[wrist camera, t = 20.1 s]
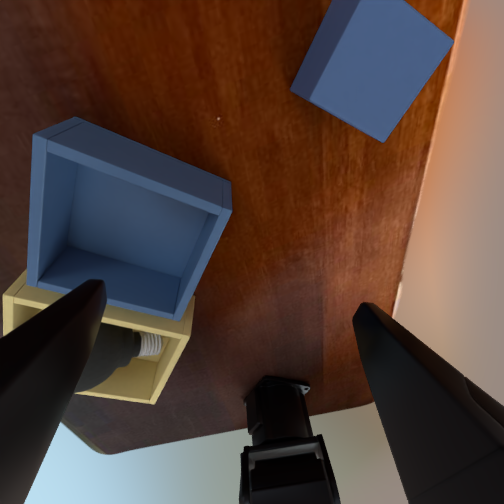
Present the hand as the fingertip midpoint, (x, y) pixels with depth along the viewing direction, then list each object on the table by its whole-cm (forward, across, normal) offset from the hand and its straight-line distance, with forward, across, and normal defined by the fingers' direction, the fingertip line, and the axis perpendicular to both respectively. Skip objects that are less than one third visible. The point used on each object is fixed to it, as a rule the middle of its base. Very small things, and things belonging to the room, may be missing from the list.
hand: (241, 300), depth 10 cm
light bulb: (+11, +9, +15) cm, 20 cm away
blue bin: (+11, +6, +4) cm, 13 cm away
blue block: (+11, -5, -7) cm, 15 cm away
